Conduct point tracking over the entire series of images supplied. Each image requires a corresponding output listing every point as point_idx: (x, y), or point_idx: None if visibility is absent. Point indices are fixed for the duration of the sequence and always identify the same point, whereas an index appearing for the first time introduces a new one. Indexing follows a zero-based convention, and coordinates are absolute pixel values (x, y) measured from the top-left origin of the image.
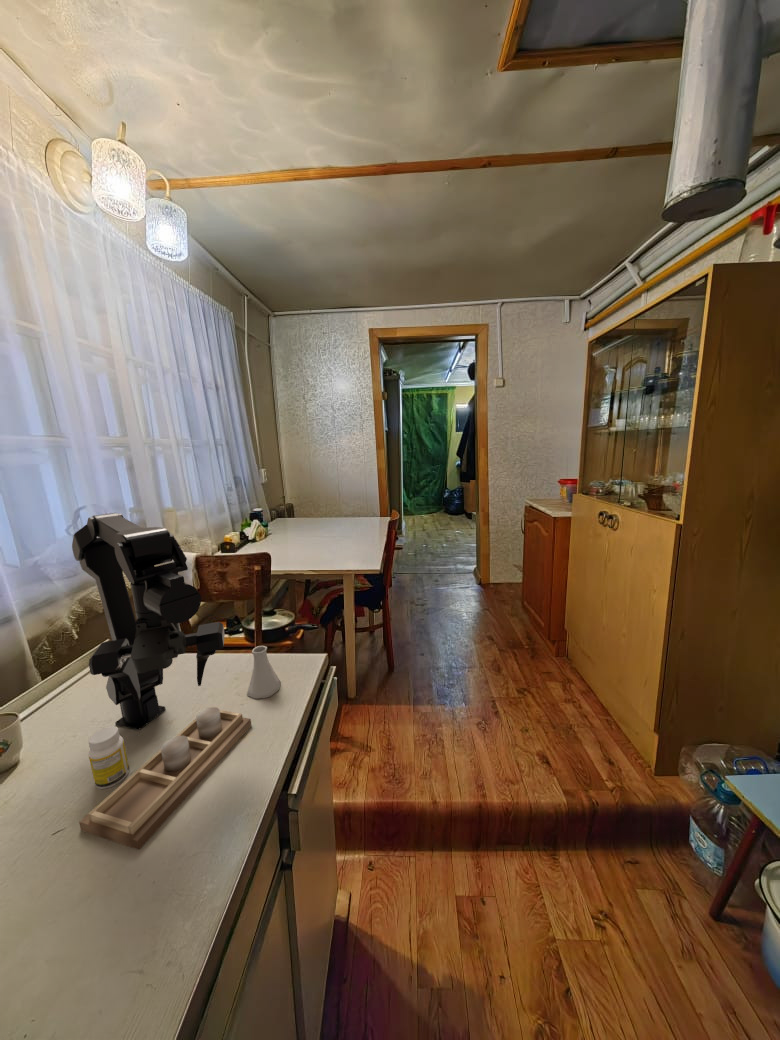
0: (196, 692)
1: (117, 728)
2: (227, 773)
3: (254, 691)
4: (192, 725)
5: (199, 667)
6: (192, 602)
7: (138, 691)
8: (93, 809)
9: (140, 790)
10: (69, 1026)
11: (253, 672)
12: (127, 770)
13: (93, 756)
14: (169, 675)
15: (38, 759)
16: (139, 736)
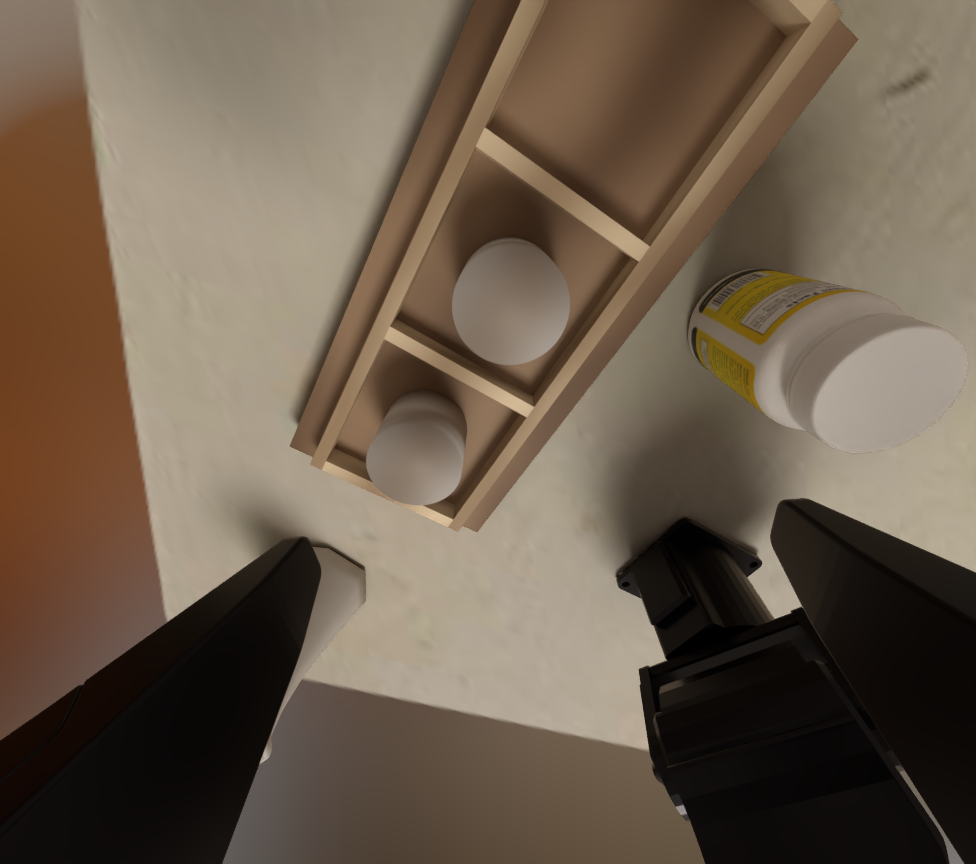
0: (535, 621)
1: (816, 421)
2: (309, 201)
3: (326, 572)
4: (493, 461)
5: (67, 735)
6: None
7: (824, 571)
8: (820, 36)
9: (627, 164)
10: None
11: (307, 643)
12: (695, 323)
13: (891, 304)
14: (630, 700)
15: (972, 481)
16: (677, 490)
